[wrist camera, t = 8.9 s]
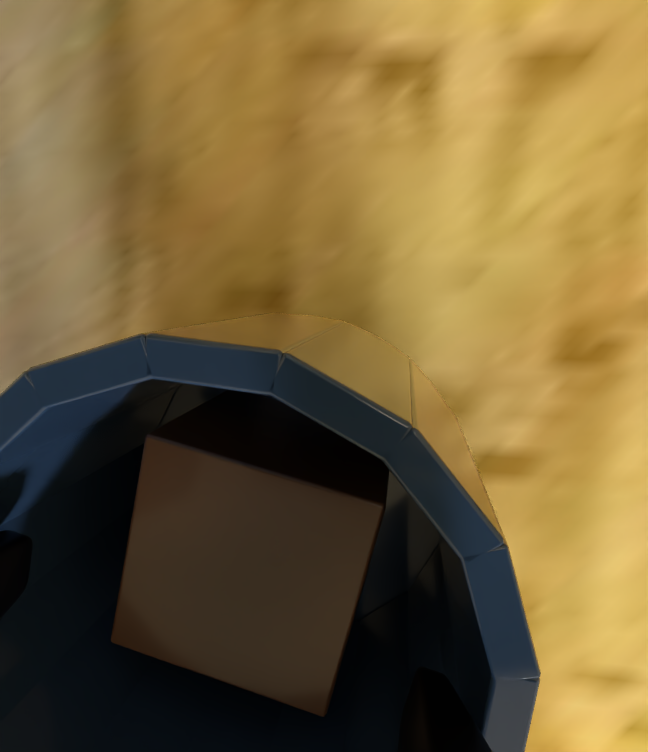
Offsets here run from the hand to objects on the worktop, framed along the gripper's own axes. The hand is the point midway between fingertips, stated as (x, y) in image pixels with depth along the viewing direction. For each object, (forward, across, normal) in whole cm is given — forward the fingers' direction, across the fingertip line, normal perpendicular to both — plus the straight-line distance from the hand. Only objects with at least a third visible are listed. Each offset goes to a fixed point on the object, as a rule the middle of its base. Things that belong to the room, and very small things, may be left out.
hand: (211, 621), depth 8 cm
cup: (+6, 0, 0) cm, 6 cm away
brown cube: (+6, 0, 0) cm, 6 cm away
